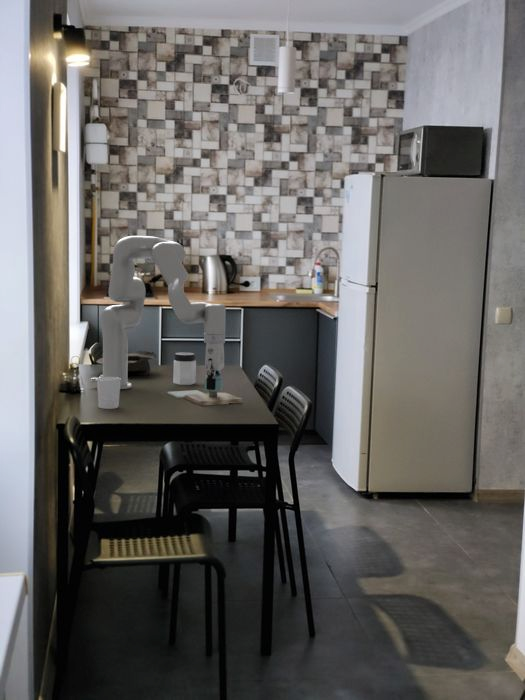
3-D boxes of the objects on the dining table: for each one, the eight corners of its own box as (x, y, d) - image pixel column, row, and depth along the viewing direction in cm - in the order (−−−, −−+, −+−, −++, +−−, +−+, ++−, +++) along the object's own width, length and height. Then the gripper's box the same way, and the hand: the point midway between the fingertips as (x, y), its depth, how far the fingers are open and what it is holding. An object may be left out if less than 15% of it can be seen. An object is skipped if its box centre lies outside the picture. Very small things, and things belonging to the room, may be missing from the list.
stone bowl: (168, 373, 391) (167, 352, 390) (123, 384, 373) (122, 362, 371) (129, 366, 407) (128, 345, 405) (84, 376, 388) (83, 354, 387)
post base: (200, 405, 324) (201, 383, 323) (185, 398, 336) (185, 377, 335) (241, 402, 332) (242, 380, 331) (224, 396, 344) (225, 375, 343)
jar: (199, 384, 369) (200, 354, 367) (182, 385, 364) (183, 355, 362) (186, 380, 376) (187, 351, 374) (169, 382, 370) (170, 352, 369)
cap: (219, 391, 330) (219, 376, 329) (203, 390, 331) (203, 375, 331) (223, 389, 336) (223, 374, 335) (207, 388, 337) (208, 373, 336)
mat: (177, 398, 337) (177, 396, 337) (167, 393, 346) (167, 391, 346) (207, 396, 343) (207, 394, 343) (196, 391, 352) (196, 390, 352)
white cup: (99, 404, 321) (99, 376, 319) (122, 405, 320) (122, 377, 319) (94, 409, 313) (94, 379, 312) (117, 409, 313) (118, 380, 311)
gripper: (218, 341, 322) (217, 392, 324) (230, 336, 339) (229, 384, 341) (197, 340, 323) (196, 391, 326) (210, 335, 340) (209, 383, 343)
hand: (213, 387), depth 333 cm, fingers closed on cap, 6 cm apart
